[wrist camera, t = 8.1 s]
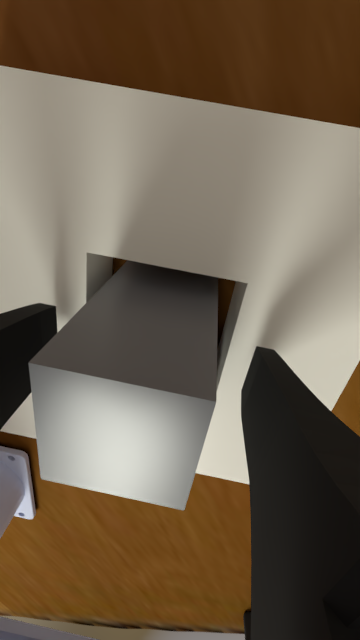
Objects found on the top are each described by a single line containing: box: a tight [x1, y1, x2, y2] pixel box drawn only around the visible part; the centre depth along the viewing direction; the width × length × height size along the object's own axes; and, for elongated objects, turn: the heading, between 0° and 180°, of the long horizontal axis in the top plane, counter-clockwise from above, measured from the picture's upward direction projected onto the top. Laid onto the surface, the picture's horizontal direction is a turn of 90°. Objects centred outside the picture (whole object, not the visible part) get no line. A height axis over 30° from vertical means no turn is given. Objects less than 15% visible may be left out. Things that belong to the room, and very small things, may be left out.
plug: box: [28, 260, 218, 510], centre depth 11 cm, size 4×4×8 cm
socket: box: [0, 66, 360, 484], centre depth 13 cm, size 15×15×3 cm
